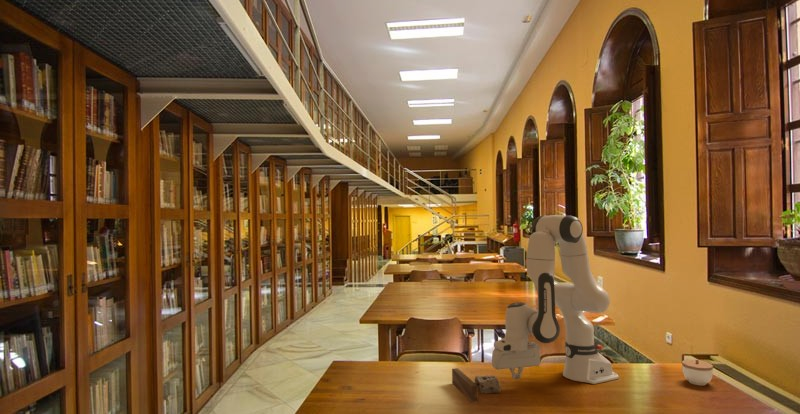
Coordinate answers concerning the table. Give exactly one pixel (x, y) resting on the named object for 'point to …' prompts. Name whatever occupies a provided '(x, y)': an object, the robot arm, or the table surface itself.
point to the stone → (487, 384)
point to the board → (464, 385)
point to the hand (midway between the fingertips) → (516, 378)
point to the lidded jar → (697, 371)
